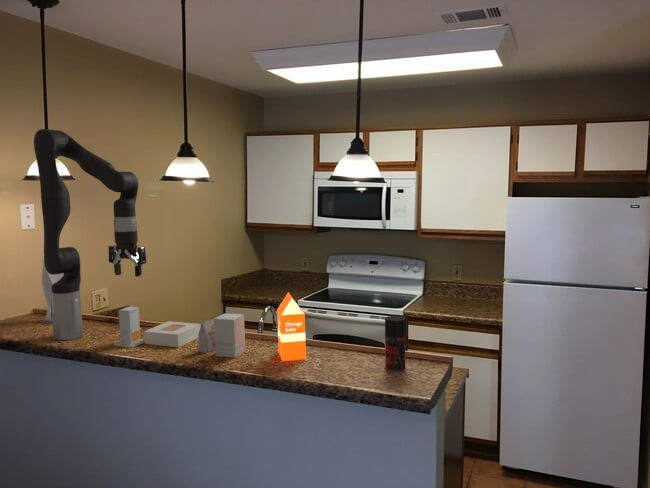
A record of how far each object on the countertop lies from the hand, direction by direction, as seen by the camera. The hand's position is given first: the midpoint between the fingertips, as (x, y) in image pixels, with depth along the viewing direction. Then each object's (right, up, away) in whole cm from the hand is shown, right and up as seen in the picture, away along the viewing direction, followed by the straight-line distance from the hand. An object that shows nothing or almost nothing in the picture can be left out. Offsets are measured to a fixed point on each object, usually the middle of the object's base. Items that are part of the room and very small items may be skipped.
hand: (128, 275), depth 189 cm
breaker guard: (+15, -23, +4) cm, 28 cm away
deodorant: (+90, -26, -28) cm, 98 cm away
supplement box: (+38, -25, -13) cm, 47 cm away
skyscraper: (-43, -21, +35) cm, 60 cm away
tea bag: (+30, -25, -8) cm, 40 cm away
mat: (+1, -24, +1) cm, 24 cm away
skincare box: (0, -24, +1) cm, 24 cm away
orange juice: (+58, -25, -16) cm, 65 cm away
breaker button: (+15, -23, +4) cm, 27 cm away
